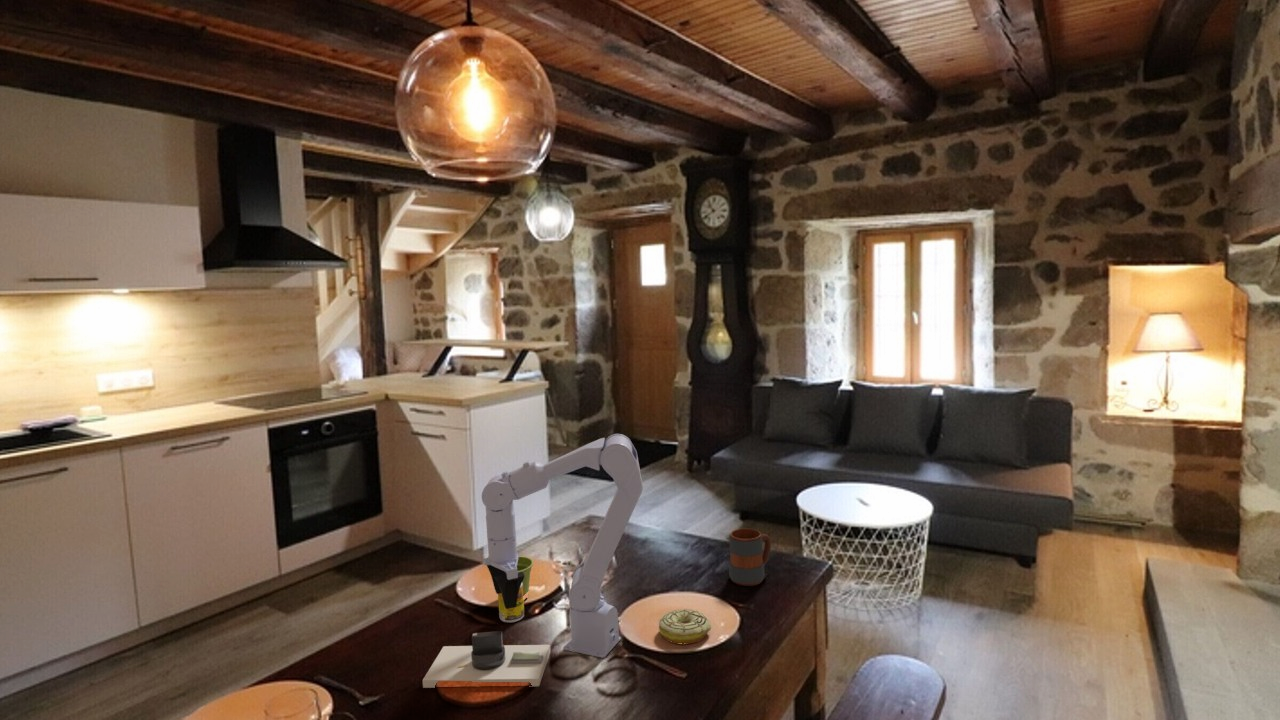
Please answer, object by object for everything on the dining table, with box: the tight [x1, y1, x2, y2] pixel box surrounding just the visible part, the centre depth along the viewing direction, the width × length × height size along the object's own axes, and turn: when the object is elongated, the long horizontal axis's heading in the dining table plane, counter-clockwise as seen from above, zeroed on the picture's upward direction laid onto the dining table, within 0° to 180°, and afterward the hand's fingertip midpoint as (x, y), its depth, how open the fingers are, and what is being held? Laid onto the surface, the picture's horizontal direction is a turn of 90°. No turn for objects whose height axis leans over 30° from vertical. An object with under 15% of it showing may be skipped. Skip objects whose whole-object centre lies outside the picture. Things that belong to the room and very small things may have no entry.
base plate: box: [422, 644, 551, 689], centre depth 134 cm, size 22×12×4 cm, turn 87°
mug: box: [728, 528, 772, 587], centre depth 169 cm, size 9×12×12 cm
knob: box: [471, 630, 505, 670], centre depth 134 cm, size 6×6×6 cm
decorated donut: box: [658, 608, 712, 645], centre depth 144 cm, size 10×11×4 cm
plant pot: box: [517, 555, 534, 596], centre depth 163 cm, size 9×9×9 cm
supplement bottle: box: [497, 583, 525, 623], centre depth 154 cm, size 6×6×10 cm
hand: (505, 599), depth 141 cm, fingers open, 7 cm apart
